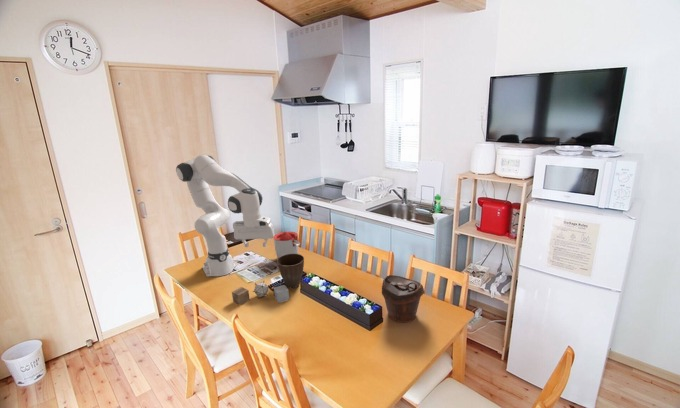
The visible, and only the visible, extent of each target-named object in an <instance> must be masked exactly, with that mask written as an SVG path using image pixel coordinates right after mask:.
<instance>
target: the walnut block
mask: <svg viewBox="0 0 680 408" xmlns="http://www.w3.org/2000/svg"><path fill="white" fill-rule="evenodd" d="M231 297H232V302H233V303H234V304H236V305H238V306H242V305H244V304H245V303H247V302H249V301H251V299H250V293H249V289H247V288H244V287H242V286H240V287H238V288H236V289H234V290H232V291H231Z"/></svg>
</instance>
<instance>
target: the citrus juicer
mask: <svg viewBox="0 0 680 408" xmlns="http://www.w3.org/2000/svg"><path fill="white" fill-rule="evenodd" d="M298 236H299V235H298V233H297V232H296V231H282V232H278V233H276V234H275V235H274V237H273V238H272V239H273V242H274V243H273V244H274V251H275V255H276V257H277V259H278V258H279V257H281V256H283V255H286V254H299V246H300V245H301V242H300V241H299V238H298Z"/></svg>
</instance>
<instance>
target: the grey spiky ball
mask: <svg viewBox="0 0 680 408" xmlns="http://www.w3.org/2000/svg"><path fill="white" fill-rule="evenodd" d="M270 288H271V286H270V287H269V286H268V285H267V284H266V282H265V280H263V281H261V282H259V283H256V282H255V283H254V288H253V289H254V290H252V293H254V294H255V295H256V296H257V297H258V298H257V299H258V300H259V299H260V298H261V297H264V296H269V294H268V292H269V290H270Z"/></svg>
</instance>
